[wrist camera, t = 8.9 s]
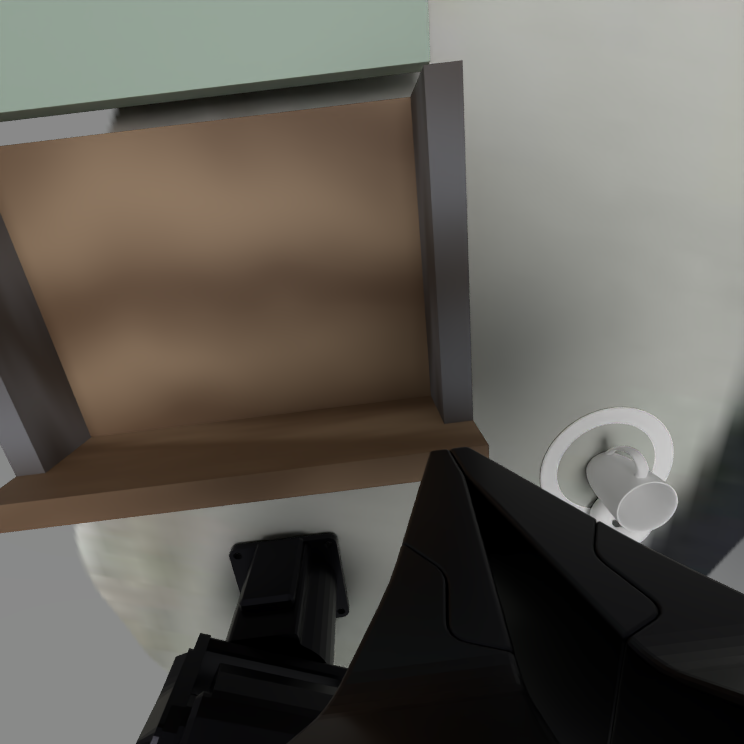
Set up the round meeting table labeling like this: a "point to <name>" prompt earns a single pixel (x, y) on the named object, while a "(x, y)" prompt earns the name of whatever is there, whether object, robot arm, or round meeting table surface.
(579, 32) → the round meeting table surface
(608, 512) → the teacup and saucer
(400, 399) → the brown and grey drawer
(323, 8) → the panel
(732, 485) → the round meeting table surface
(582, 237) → the round meeting table surface
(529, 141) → the round meeting table surface
